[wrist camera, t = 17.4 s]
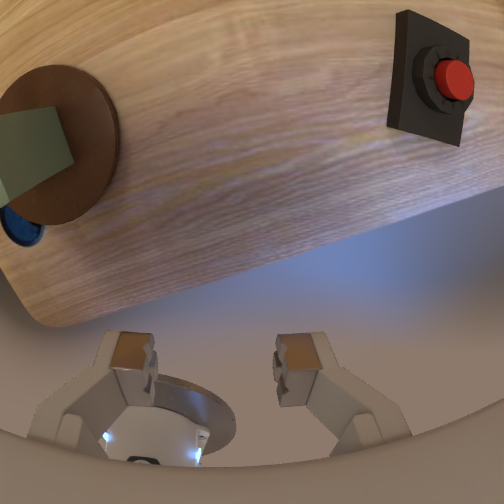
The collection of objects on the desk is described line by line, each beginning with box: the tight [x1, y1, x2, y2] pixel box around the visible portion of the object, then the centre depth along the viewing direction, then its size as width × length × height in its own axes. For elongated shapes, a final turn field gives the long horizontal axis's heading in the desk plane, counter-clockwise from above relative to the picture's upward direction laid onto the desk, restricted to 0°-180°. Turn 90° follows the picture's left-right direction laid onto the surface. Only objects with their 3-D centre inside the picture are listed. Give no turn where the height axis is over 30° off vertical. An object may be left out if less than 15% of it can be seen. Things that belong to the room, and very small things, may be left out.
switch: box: [434, 60, 474, 100], centre depth 19 cm, size 4×4×2 cm
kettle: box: [0, 65, 119, 225], centre depth 16 cm, size 15×15×12 cm
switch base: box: [387, 9, 474, 147], centre depth 21 cm, size 12×8×4 cm, turn 175°
